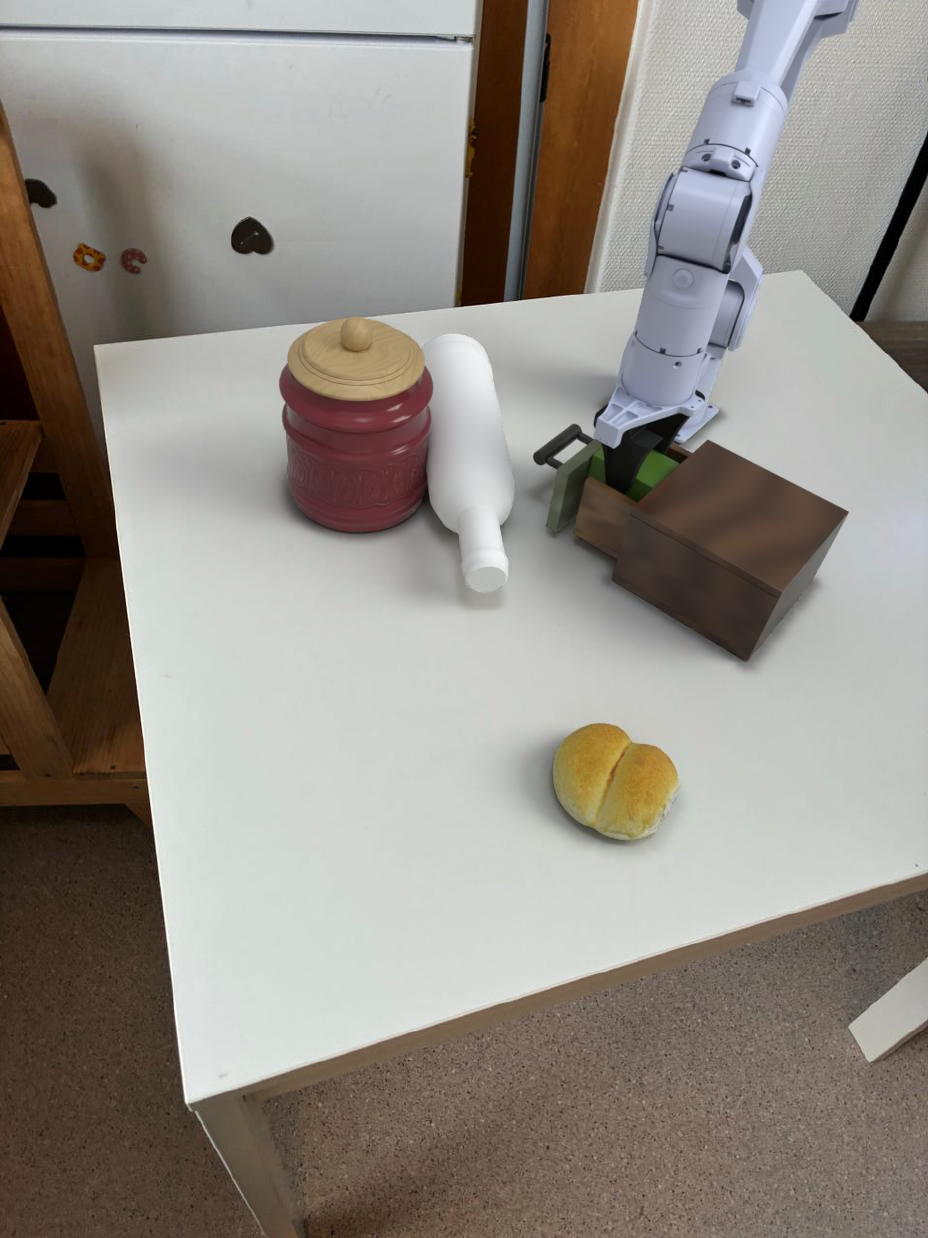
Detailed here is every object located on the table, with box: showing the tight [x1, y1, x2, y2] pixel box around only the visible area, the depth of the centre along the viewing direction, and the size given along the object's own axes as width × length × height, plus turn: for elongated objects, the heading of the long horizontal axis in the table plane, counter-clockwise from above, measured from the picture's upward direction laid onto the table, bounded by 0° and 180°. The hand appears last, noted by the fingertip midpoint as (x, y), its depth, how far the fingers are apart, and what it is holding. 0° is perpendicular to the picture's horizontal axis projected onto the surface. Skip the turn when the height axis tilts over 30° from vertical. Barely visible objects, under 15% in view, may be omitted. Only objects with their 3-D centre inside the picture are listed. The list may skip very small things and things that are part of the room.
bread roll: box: [552, 722, 682, 841], centre depth 64 cm, size 8×9×4 cm
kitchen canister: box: [278, 316, 434, 533], centre depth 78 cm, size 13×13×18 cm
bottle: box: [421, 333, 517, 593], centre depth 83 cm, size 8×8×30 cm
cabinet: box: [611, 439, 850, 662], centre depth 77 cm, size 14×13×9 cm
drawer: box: [532, 423, 693, 560], centre depth 81 cm, size 17×11×7 cm
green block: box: [588, 448, 680, 503], centre depth 79 cm, size 6×4×3 cm
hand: (632, 473), depth 80 cm, fingers closed on green block, 4 cm apart
